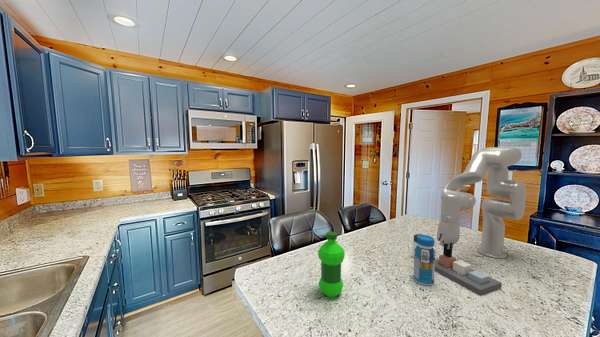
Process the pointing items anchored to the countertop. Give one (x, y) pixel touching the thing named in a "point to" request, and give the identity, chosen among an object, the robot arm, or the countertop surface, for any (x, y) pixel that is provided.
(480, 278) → the slate key
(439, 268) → the slotted grey plate
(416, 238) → the jar
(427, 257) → the beverage bottle
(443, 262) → the brick key
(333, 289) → the plastic bottle
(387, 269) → the countertop surface
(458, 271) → the ivory key
